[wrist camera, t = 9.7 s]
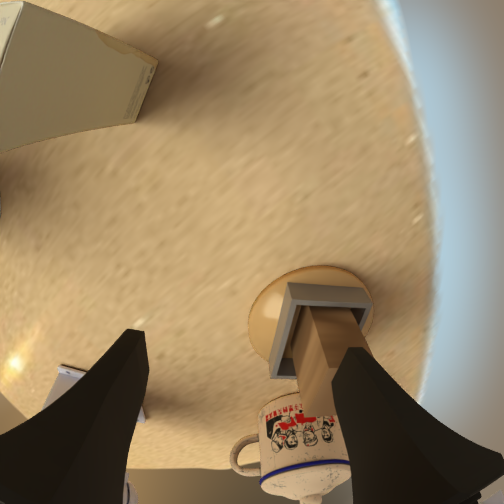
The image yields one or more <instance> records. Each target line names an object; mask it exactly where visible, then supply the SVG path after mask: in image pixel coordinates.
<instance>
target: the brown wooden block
mask: <svg viewBox="0 0 504 504" xmlns="http://www.w3.org/2000/svg"><path fill="white" fill-rule="evenodd" d="M290 347H291V352H292V357H293V362H294V367H295V372H296V377H297V382H298V387H299V392H300V398H301V403H302V408H303V413H304V418H305V417H323V416H336V415H337V413H336V410H335V406H334V400H333V393H332V385H331V381H332V379H333V378H334V376H335V374H336V372H337V370H338V368H339V366H340V364H341V362H342V360H343V358H344V355H345V353H346V351H347V349H348V347H363V348H364V349H365V350H366V351H367V352H368V353H369V354H370V355H371V356H372V357H373V355H372V353H371V351H370V348H369V346H368V344H367V342H366V340H365V338H364V336H363V334H362V332H361V330H360V328H359V326H358V324H357V322H356V320H355V318H354V316H353V314H352V312H351V310H350V308H349V307H327V306H308V305H301V308H300V312H299V315H298V319H297V322H296V326H295V329H294V333H293V336H292V339H291V343H290ZM373 358H374V357H373Z"/></svg>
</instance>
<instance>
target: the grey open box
mask: <svg viewBox="0 0 504 504" xmlns="http://www.w3.org/2000/svg"><path fill="white" fill-rule="evenodd" d="M301 305H308V306H327V307H349V308H350V310H351V312H352V314H353V316H354V318H355V320H356V322H357V324H358V326H359V328H360V330H361V332H362V334H363V336H364V337H365V336H366V334H367V333H368V331H369V329H370V326H371V324H372V320H373V315H374V306H373V301H372V297H371V295H370V293H369V291H368V290H367V288H366V287H365V285H364V284H363V283H362V281H361V280H360V279H359V278H358V277H356V276H355V275H353V274H352V273H350V272H348V271H346V270H344V269H341V268H337V267H332V266H310V267H305V268H301V269H297V270H294V271H292V272H289V273H287V274H285V275H283V276H281V277H279V278H278V279H276V280H275V281H273V282H272V283H271V284H269V285H268V286H267V287H266V288H265V289H264V290H263V291H262V292H261V293H260V294H259V296H258V297H257V298H256V300H255V302H254V303H253V305H252V308H251V310H250V314H249V319H248V331H249V338H250V342H251V344H252V346H253V348H254V350H255V351H256V352H257V353H258V354H259V355H260V356H261V357H262V358H263V359H264V360H266V361H267V362H269V371H270V379H297V377H296V372H295V367H294V362H293V357H292V352H291V347H290V343H291V339H292V336H293V333H294V329H295V326H296V322H297V319H298V315H299V312H300V308H301Z"/></svg>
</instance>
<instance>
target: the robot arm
mask: <svg viewBox="0 0 504 504" xmlns="http://www.w3.org/2000/svg"><path fill="white" fill-rule="evenodd" d="M57 369H58V371H59V374H58V376H57V378H56V380H55V382H54V384H53V386H52V388H51V390H50V392H49V395H48V397H47V399H46V401H45V403H44V405H43V408H42V410H41V412H39V413H38V414H36V415H35V416H33V417H32V418H30V419H29V420H27V421H25V422H24V423H22V424H20V425H18V426H17V427H15V428H13V429H11V430H10V431H8V432H6V433H4V434H2V435H0V504H138V495H137V491H136V489H135V488H134V485H133V483H132V482H130V481H128V477H129V473H127V472H126V465H127V458H128V452H129V448H130V443H131V440H132V436H133V433H134V429H135V426H136V423H137V422H140V423H145V422H146V418H145V415H144V411H143V408H142V403H143V399H144V396H145V391H146V386H147V381H148V375H149V363H148V356H147V349H146V341H145V333H144V331H139V330H133V329H127V330H125V331H124V332H123V334H122V335H121V336H120V337H119V338H118V339H117V340H116V342H115V343H114V344H113V345H112V346H111V347H110V348H109V349H108V350H107V352H106V353H105V354H104V355H103V356H102V357H101V358H100V359H99V360H98V361H97V362H96V363H95V364H94V365H93V366H92V367H91V369H90V370H89V371H88V372H83V371H79V370H76V369H72V368H69V367H65V366H62V365H59V366H58V368H57ZM331 385H332V393H333V400H334V406H335V410H336V413H337V417H338V421H339V424H340V428H341V431H342V435H343V438H344V442H345V446H346V449H347V453H348V458H349V463H350V470H351V478H352V489H353V504H478V501H477V500H478V499H480V498H481V493H480V491H481V490H482V489H484V488H485V487H487V486H488V485H490V484H491V483H493V482H494V481H496V480H497V479H498V478H500V477H501V476H503V475H504V459H503V457H502V455H501V454H500V453H498V452H495V451H492V450H490V449H487V448H485V447H482V446H480V445H478V444H476V443H474V442H472V441H470V440H468V439H466V438H464V437H463V436H461V435H459V434H458V433H456V432H454V431H453V430H451V429H450V428H448V427H447V426H445V425H444V424H442V423H441V422H440V421H438V420H437V419H436V418H434V417H433V416H432V415H431V414H429V413H428V412H427V411H426V410H425V409H423V408H422V407H421V406H420V405H419V404H418V403H417V402H416V401H415V400H414V399H413V398H412V397H410V396H409V395H408V394H407V393H406V392H405V391H404V390H403V389H402V388H401V387H400V386H399V385H398V384H397V382H396V381H395V380H394V379H393V378H392V377H391V376H390V375H389V374H388V373H387V372H386V371H385V370H384V369H383V368H382V366H381V365H380V364H379V363H378V362H377V361H376V360H375V359H374V358H373V357H372V356H371V355H370V354H369V353H368V352H367V351H366V350H365V349H364V348H363V347H348V349H347V351H346V353H345V355H344V358H343V360H342V362H341V364H340V366H339V368H338V370H337V372H336V374H335V376H334V378H333V379H332V381H331ZM479 504H504V496H503V493H502V491H501V490H499V491H497V492H496V493H494V494H493V495H491V496H489V497H488V498H486V499H485V500H483V501H482V502H480V503H479Z"/></svg>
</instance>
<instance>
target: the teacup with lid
mask: <svg viewBox="0 0 504 504" xmlns="http://www.w3.org/2000/svg"><path fill="white" fill-rule="evenodd" d="M258 431H259V433H258V434H253V435H249V436H246V437H243V438H242V439H240V440H239V441H238V442H237V443H236V444H235V445H234V446H233V448H232V450H231V453H230V464H231V467H232V468H233V469H234V471H236V472H237V473H239V474H241V475H244V476H260V475H262V478H261V479H260V485H261V487H262V489H263V490H264V491H265V492H267V493H269V494H273V495H279V496H285V497H287V498H289V499H294V500H300V504H320V503H321V502H322V498H321V496H323V495H325V494H327V493H328V492H330V491H331V490H332V489H333V488H334V487H335V486H337V485H339V484H341V483H343V482H344V481H346V480H347V479H348V478H350V476H351V470H350V463H349V458H348V453H347V449H346V446H345V442H344V438H343V435H342V431H341V428H340V424H339V421H338V417H337V415H336V416H323V417H305V418H304V413H303V408H302V403H301V398H300V393H295V394H290V395H286V396H283V397H280V398H277V399H275V400H273V401H271V402H270V403H268V404H267V405H265V406H264V407H263V408H262V409H261V411H260V412H259V415H258ZM254 442H259V446H260V460H261V468H254V469H246V468H242V467H240V466H239V465H238V464H237V458H238V455H239V453H240V451H241V450H242V448H243V447H245V446H246V445H248V444H250V443H254Z"/></svg>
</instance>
